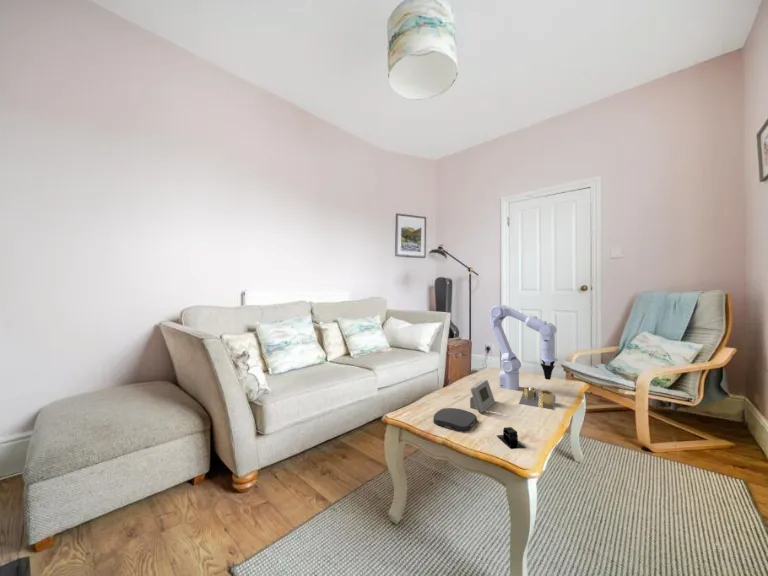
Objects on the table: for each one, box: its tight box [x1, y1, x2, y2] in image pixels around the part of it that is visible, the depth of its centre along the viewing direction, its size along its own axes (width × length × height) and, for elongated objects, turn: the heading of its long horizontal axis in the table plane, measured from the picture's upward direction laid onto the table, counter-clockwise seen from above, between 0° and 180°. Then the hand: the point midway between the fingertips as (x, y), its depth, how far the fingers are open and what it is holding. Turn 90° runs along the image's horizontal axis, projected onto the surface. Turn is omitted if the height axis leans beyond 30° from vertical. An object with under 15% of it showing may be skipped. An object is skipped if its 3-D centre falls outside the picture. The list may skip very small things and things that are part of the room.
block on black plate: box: [496, 426, 527, 450], centre depth 105 cm, size 12×7×5 cm, turn 10°
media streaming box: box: [433, 407, 478, 432], centre depth 120 cm, size 15×15×3 cm
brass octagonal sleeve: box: [538, 389, 554, 406], centre depth 137 cm, size 6×6×5 cm
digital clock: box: [469, 378, 496, 414], centre depth 135 cm, size 16×9×11 cm, turn 130°
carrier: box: [518, 386, 556, 411], centre depth 142 cm, size 14×20×4 cm
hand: (548, 377), depth 146 cm, fingers open, 7 cm apart
